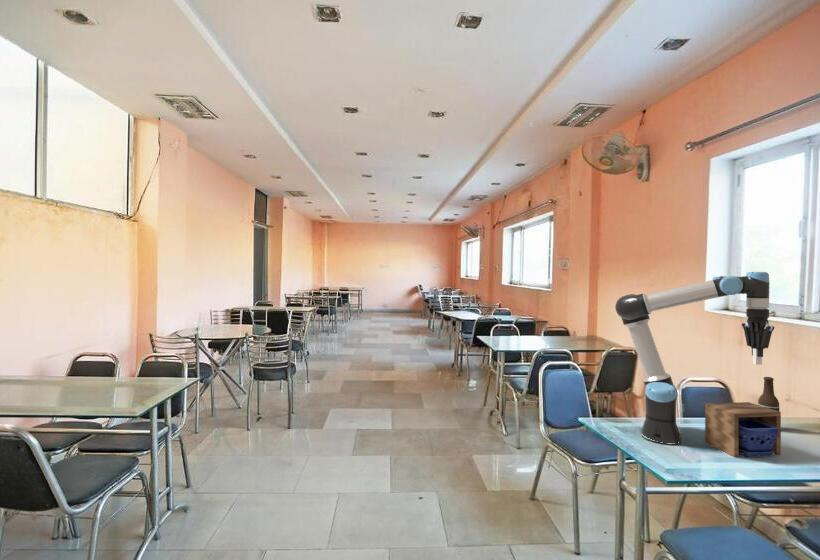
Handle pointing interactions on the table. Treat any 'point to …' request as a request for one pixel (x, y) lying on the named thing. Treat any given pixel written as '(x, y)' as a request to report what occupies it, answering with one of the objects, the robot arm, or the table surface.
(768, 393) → the beer bottle
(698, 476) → the table surface
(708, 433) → the shelf
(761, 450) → the flower pot
